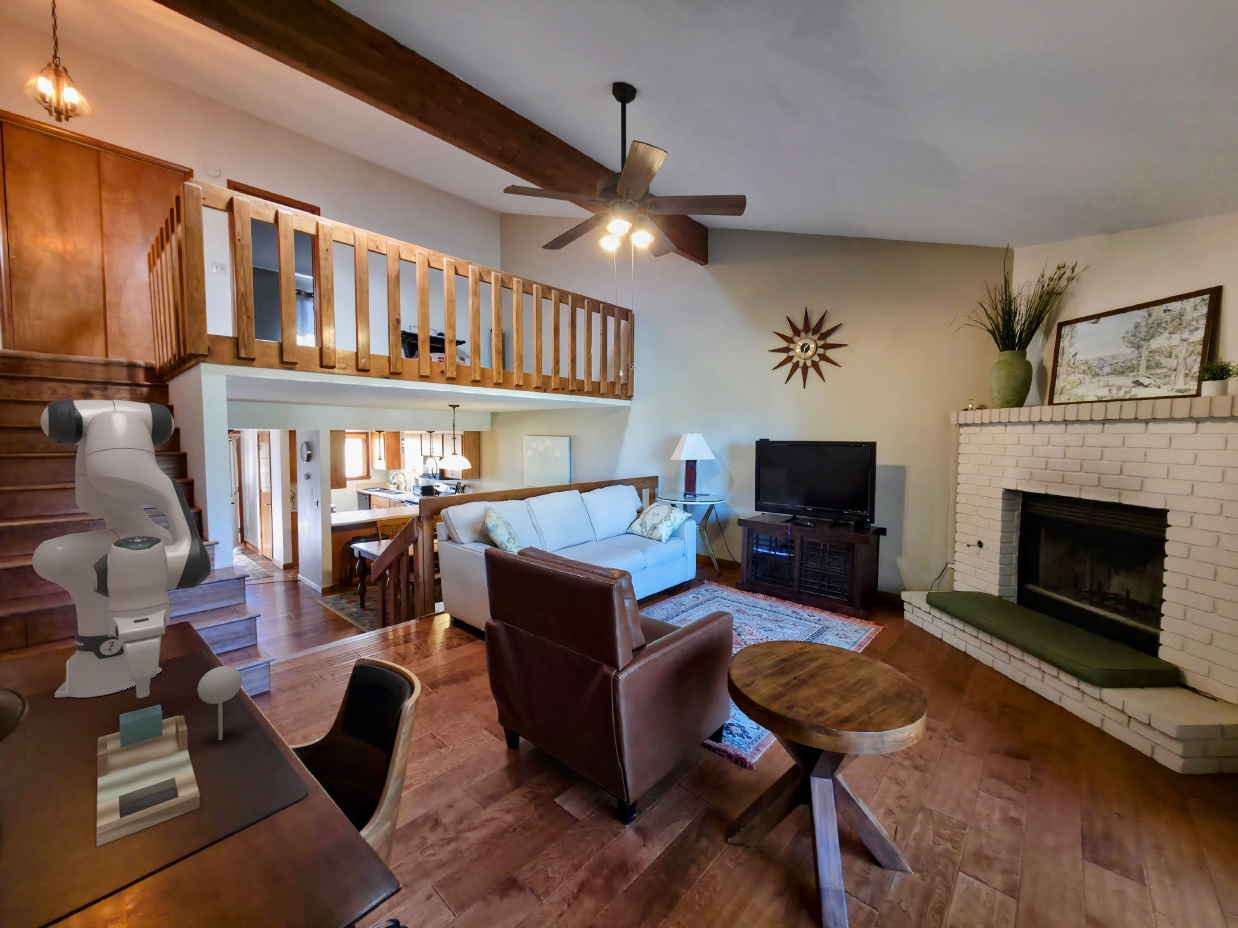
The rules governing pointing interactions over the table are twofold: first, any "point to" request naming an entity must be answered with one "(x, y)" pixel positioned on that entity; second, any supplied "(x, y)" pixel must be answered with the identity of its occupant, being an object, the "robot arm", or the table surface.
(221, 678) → the lollipop
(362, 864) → the table surface
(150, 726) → the block
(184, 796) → the deck
